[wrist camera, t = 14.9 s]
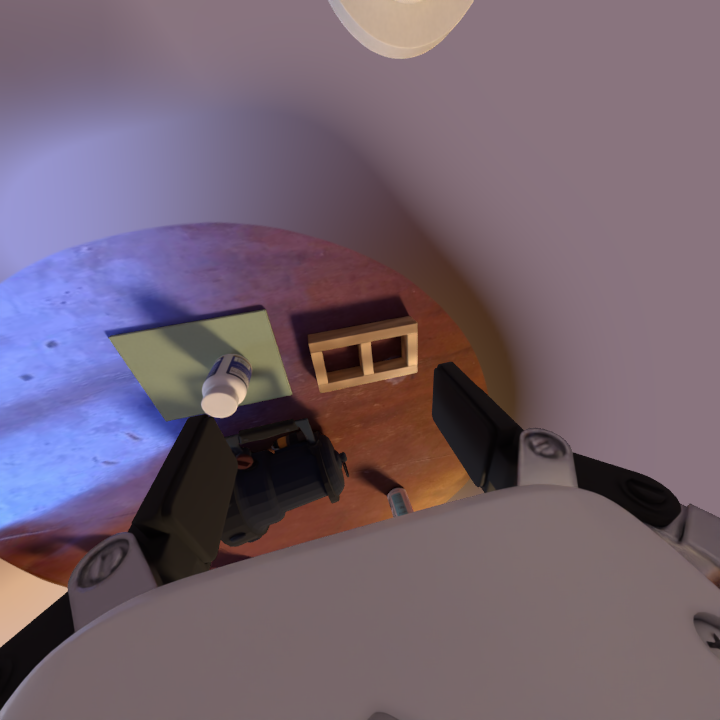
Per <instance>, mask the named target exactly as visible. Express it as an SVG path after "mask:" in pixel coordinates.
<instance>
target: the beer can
mask: <svg viewBox="0 0 720 720" xmlns="http://www.w3.org/2000/svg"><path fill="white" fill-rule="evenodd" d="M387 497H388V501H389V504H390V507H391V510H392V514H393V517H398V516H401V515H405V514H409V513H412V512H413V509H412V506H411V504H410V501H409V498H408V496H407V493H406V491H405V489H403V488H395V489H393V490H391V491H390V492H389V493H388V496H387Z"/></svg>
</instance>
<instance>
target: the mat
mask: <svg viewBox="0 0 720 720" xmlns="http://www.w3.org/2000/svg"><path fill="white" fill-rule="evenodd" d="M108 338H109V339H110V341H111V342H112V344H113V345H114V347H115V348H116V350H117V351H118V352H119V354H120V355H121V357H122V358H123V360H124V361H125V363H126V364H127V366H128V367H129V368H130V370H131V371H132V373H133V374H134V376H135V377H136V379H137V380H138V382H139V383H140V384H141V386H142V387H143V389H144V390H145V392H146V393H147V395H148V396H149V397H150V399H151V400H152V402H153V403H154V405H155V406H156V408H157V409H158V411H159V412H160V413H161V415H162V416H163V418H164V419H165V421H171V420H176V419H180V418H185V417H190V416H194V415H199V414H204V413H205V412H204V410H203V409H202V406H201V401H202V399H203V394H202V387H203V384H204V382H205V380H206V378H207V376H208V374H209V372H210V371H211V369H212V367H213V365H214V363H215V361H216V360H217V359H218V358H219V357H221V356H222V355H225V354H238V355H241V356H243V357H245V358H246V359H247V360H248V361H249V362H250V364H251V366H252V375H251V379H250V382H249V386H248V390H247V393H246V396H245V399H244V400H243V401H242V402H241V403H240V404H239V405H238V406H241V405H246V404H251V403H256V402H260V401H265V400H270V399H274V398H279V397H284V396H289V395H292V391H291V388H290V385H289V382H288V378H287V375H286V372H285V369H284V366H283V362H282V359H281V356H280V353H279V350H278V347H277V343H276V340H275V337H274V334H273V331H272V328H271V324H270V321H269V318H268V315H267V312H266V309H263V310H257V311H252V312H246V313H240V314H234V315H228V316H222V317H217V318H211V319H205V320H199V321H193V322H188V323H182V324H176V325H170V326H164V327H158V328H153V329H147V330H141V331H135V332H129V333H123V334H118V335H112V336H110V337H108Z"/></svg>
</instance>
